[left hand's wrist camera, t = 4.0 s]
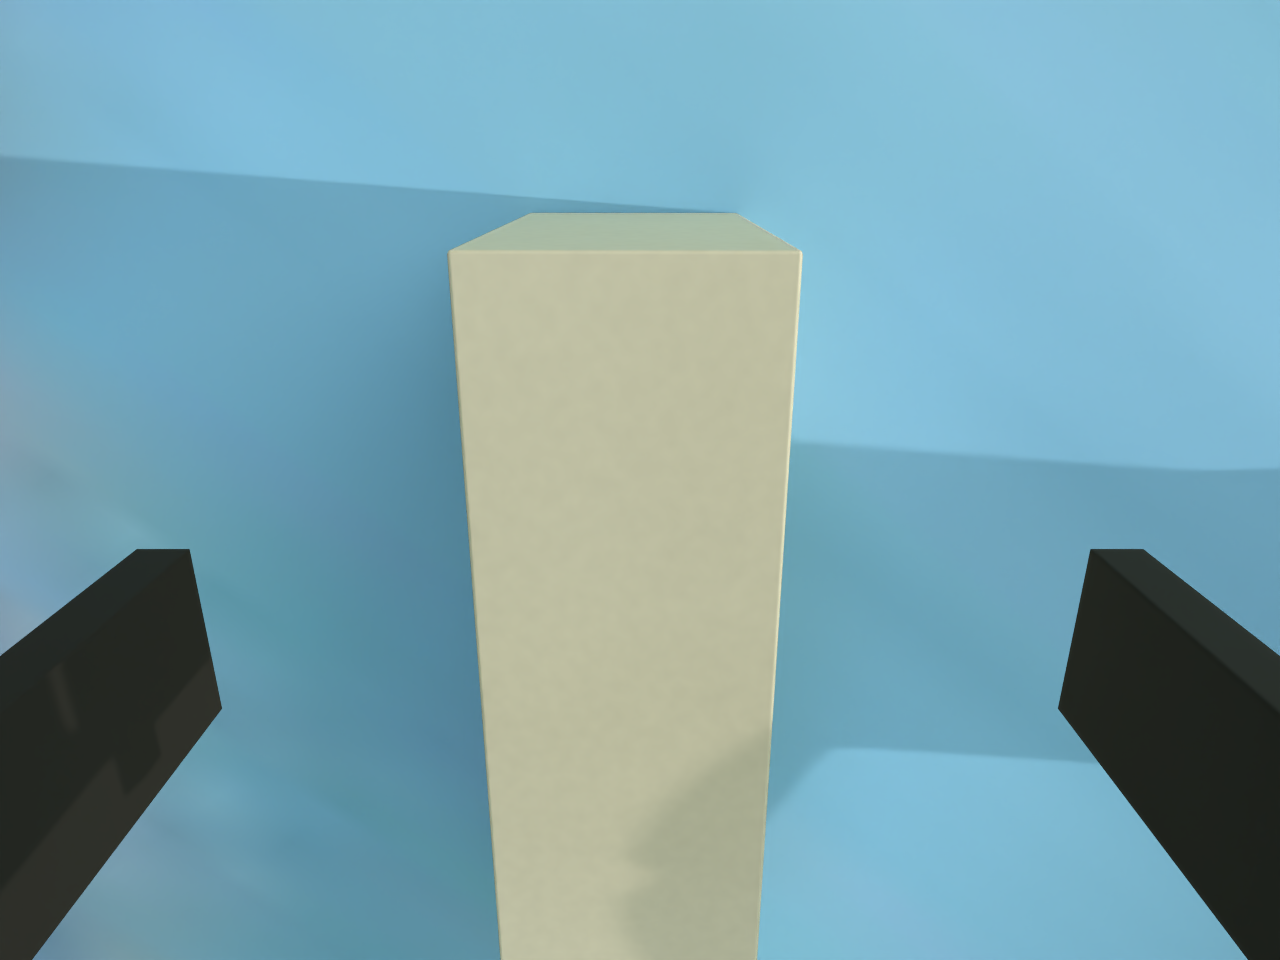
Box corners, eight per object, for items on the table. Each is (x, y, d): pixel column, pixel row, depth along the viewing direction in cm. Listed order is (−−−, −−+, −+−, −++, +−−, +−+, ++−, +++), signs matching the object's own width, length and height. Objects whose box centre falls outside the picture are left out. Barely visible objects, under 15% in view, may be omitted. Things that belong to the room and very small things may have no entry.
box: (528, 212, 25) (446, 249, 15) (738, 212, 25) (803, 249, 15) (557, 892, 34) (519, 1213, 24) (711, 893, 34) (740, 1215, 24)
